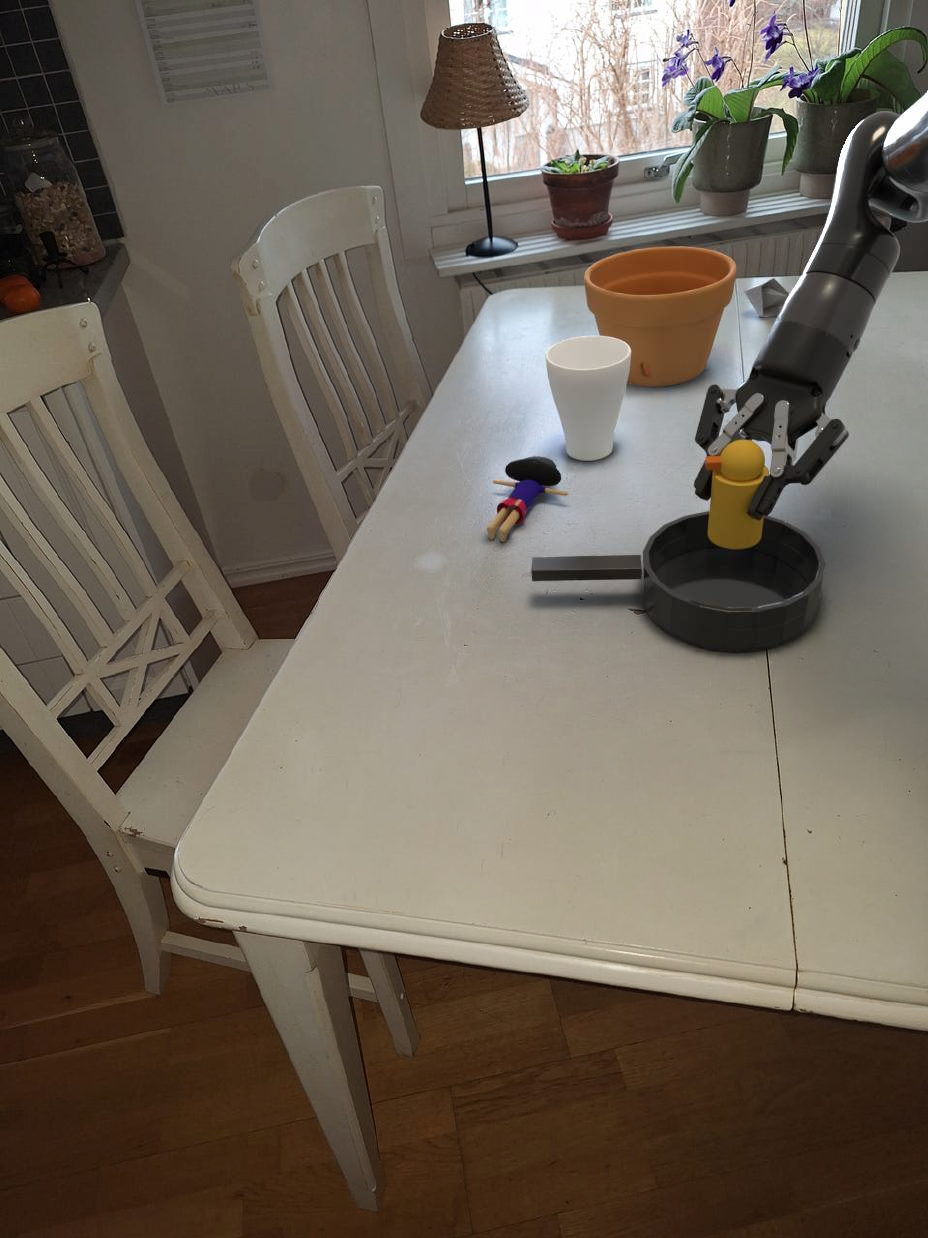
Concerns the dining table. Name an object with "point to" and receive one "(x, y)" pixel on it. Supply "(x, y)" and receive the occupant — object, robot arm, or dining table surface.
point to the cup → (588, 391)
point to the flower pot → (662, 308)
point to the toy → (524, 491)
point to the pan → (731, 585)
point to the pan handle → (586, 568)
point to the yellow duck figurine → (735, 494)
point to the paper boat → (767, 298)
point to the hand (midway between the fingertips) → (727, 506)
